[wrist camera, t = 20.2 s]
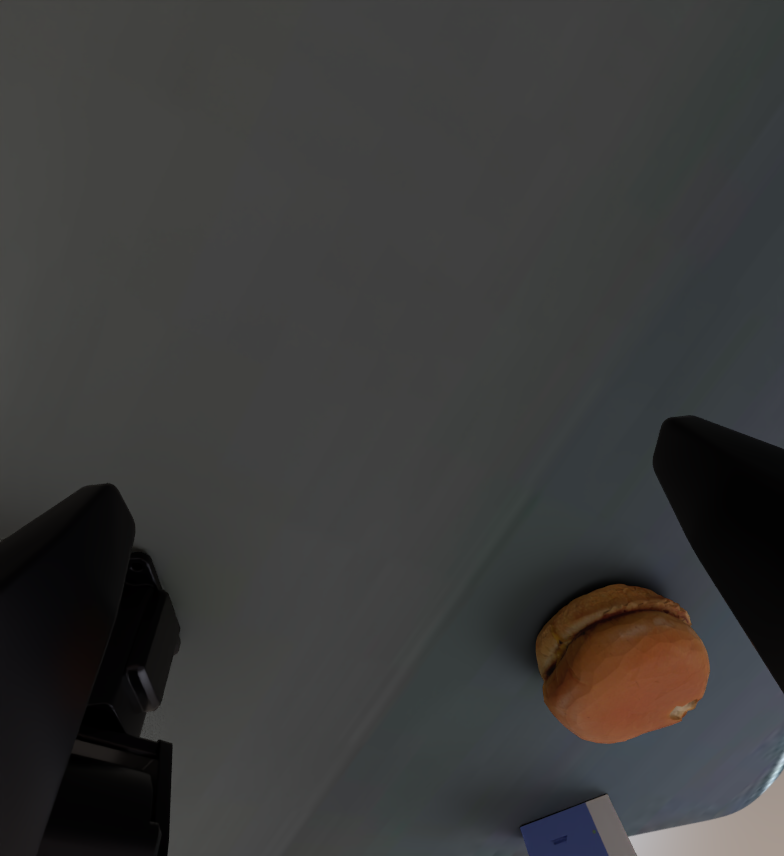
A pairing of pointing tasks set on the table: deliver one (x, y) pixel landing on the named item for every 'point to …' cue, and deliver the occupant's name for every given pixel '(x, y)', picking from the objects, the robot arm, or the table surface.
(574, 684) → the burger
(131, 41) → the table surface
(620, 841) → the walkman
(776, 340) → the table surface
